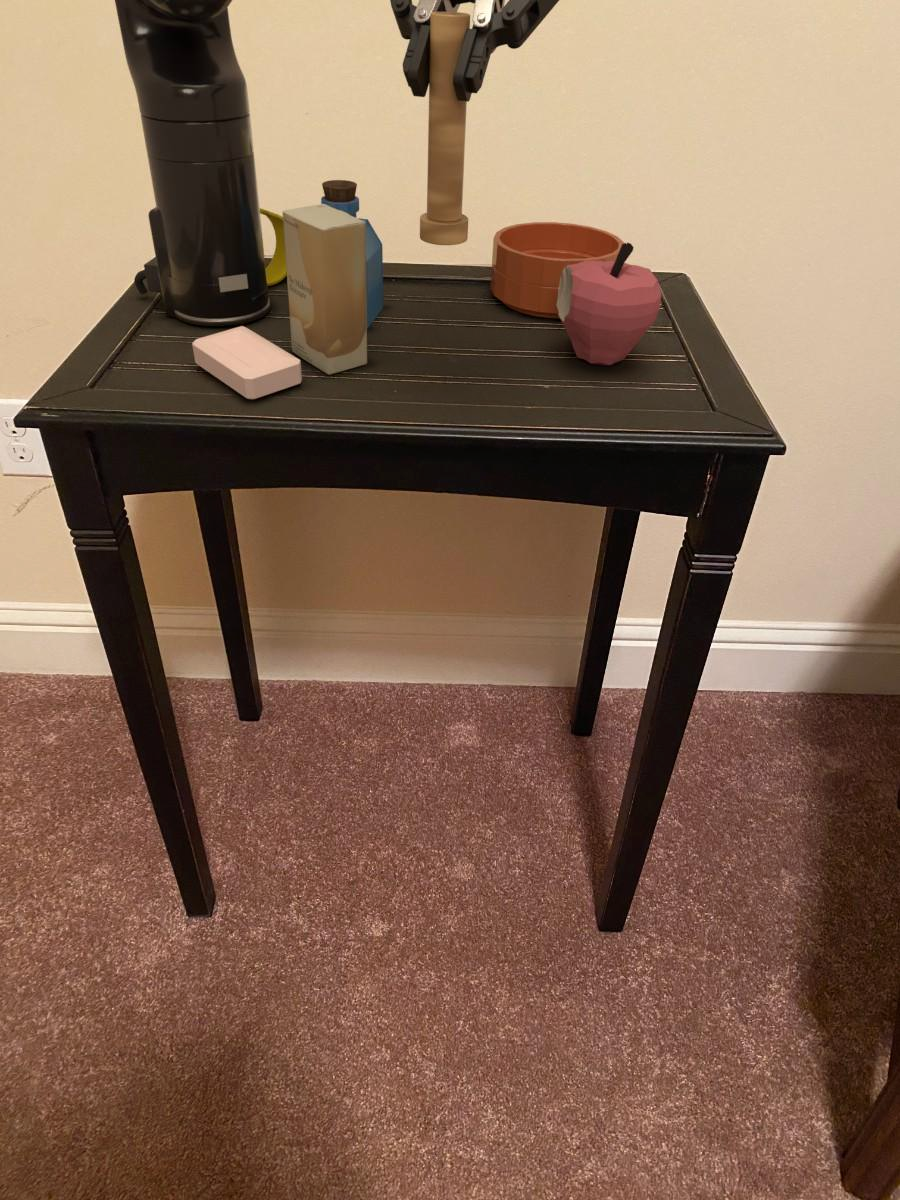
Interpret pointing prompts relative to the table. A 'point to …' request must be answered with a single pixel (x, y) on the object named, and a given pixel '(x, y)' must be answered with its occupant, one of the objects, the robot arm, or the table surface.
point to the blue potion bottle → (344, 199)
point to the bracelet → (276, 250)
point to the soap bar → (247, 362)
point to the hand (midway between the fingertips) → (438, 89)
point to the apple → (607, 306)
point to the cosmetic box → (327, 286)
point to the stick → (445, 134)
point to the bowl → (543, 261)
